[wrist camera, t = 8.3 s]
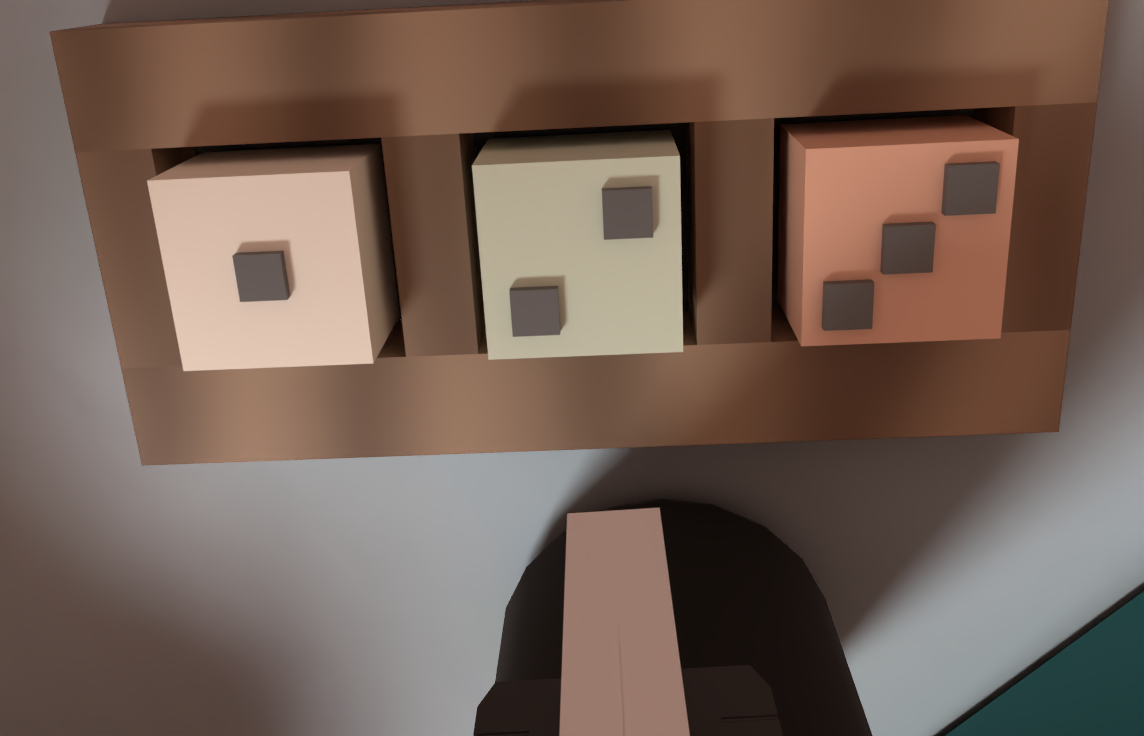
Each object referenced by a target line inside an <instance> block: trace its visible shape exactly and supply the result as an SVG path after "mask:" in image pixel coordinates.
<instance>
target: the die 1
mask: <svg viewBox="0 0 1144 736" xmlns="http://www.w3.org/2000/svg"><path fill="white" fill-rule="evenodd" d="M147 183H148V189H149V194H150V199H151V204H152V210H153V215H154V220H155V225H156V230H157V236H158V241H159V246H160V251H161V256H162V262H163V267H164V272H165V277H166V283H167V288H168V293H169V298H170V303H171V309H172V314H173V319H174V324H175V329H176V335H177V340H178V345H179V350H180V356H181V361H182V366H183V371H201V370H225V369H250V368H275V367H300V366H325V365H349V364H373V363H374V361H375V360H376V358H377V356H378V354H379V352H380V351H381V349H382V347H383V345H384V343H385V342H386V340H387V338H388V336H389V334H390V332H391V331H392V329H393V327H394V325H395V323H396V322H397V320H398V318H399V316H400V311H399V303H398V294H397V285H396V276H395V267H394V259H393V250H392V241H391V232H390V223H389V215H388V206H387V197H386V188H385V180H384V171H383V162H382V153H381V144H363V145H343V146H322V147H302V148H281V149H261V150H240V151H220V152H202V153H200V154H198V155H196V156H194V157H193V158H191V159H189V160H187V161H185V162H183V163H181V164H179V165H177V166H175V167H173V168H171V169H169V170H167V171H165V172H163V173H161V174H159V175H157V176H155V177H153V178H151V179H149V180H147Z"/></svg>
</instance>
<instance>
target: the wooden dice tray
mask: <svg viewBox="0 0 1144 736" xmlns="http://www.w3.org/2000/svg"><path fill="white" fill-rule="evenodd" d="M1108 4H1109V0H537V1H519V2H500V3H482V4H463V5H445V6H426V7H408V8H389V9H371V10H352V11H334V12H315V13H297V14H278V15H260V16H241V17H223V18H204V19H186V20H167V21H149V22H130V23H112V24H98V25H91V26H85V27H78V28H71V29H65V30H58V31H51V32H50V36H51V41H52V45H53V50H54V55H55V59H56V64H57V69H58V74H59V78H60V83H61V88H62V92H63V97H64V102H65V106H66V111H67V116H68V120H69V125H70V130H71V135H72V139H73V144H74V149H75V153H76V158H77V163H78V167H79V172H80V177H81V181H82V186H83V191H84V195H85V200H86V205H87V210H88V214H89V219H90V224H91V228H92V233H93V238H94V242H95V247H96V252H97V256H98V261H99V266H100V270H101V275H102V280H103V285H104V289H105V294H106V299H107V303H108V308H109V313H110V317H111V322H112V327H113V331H114V336H115V341H116V346H117V350H118V355H119V360H120V364H121V369H122V374H123V378H124V383H125V388H126V392H127V397H128V402H129V406H130V411H131V416H132V421H133V425H134V430H135V435H136V439H137V444H138V449H139V453H140V458H141V463H142V465H166V464H194V463H221V462H248V461H275V460H303V459H330V458H357V457H384V456H412V455H439V454H466V453H493V452H521V451H548V450H575V449H602V448H630V447H657V446H684V445H711V444H739V443H766V442H793V441H820V440H848V439H875V438H902V437H929V436H957V435H984V434H1011V433H1038V432H1059V424H1060V415H1061V407H1062V398H1063V390H1064V381H1065V372H1066V364H1067V355H1068V347H1069V338H1070V330H1071V321H1072V312H1073V304H1074V295H1075V287H1076V278H1077V270H1078V261H1079V252H1080V244H1081V235H1082V227H1083V218H1084V210H1085V201H1086V192H1087V184H1088V175H1089V167H1090V158H1091V150H1092V141H1093V132H1094V124H1095V115H1096V107H1097V98H1098V90H1099V81H1100V72H1101V64H1102V55H1103V47H1104V38H1105V30H1106V21H1107V12H1108ZM970 108H976V111H975V119H976V120H978V121H980V122H983V123H985V124H987V125H989V126H991V127H994V128H996V129H998V130H1000V131H1002V132H1005V133H1007V134H1009V135H1011V136H1013V137H1016V138H1018V139H1019V144H1018V155H1017V166H1016V177H1015V188H1014V198H1013V209H1012V220H1011V231H1010V241H1009V252H1008V263H1007V274H1006V284H1005V295H1004V306H1003V317H1002V328H1001V338H998V339H973V340H948V341H923V342H899V343H874V344H849V345H824V346H801V345H800V343H799V341H798V339H797V337H796V335H795V333H794V331H793V329H792V327H791V325H790V323H789V321H788V319H787V317H786V315H785V313H784V311H783V309H782V307H774V308H771V306H772V232H773V158H774V118H787V117H807V116H828V115H848V114H868V113H889V112H909V111H930V110H950V109H970ZM685 122H686V145H687V213H688V281H689V311H683V352H669V353H645V354H620V355H595V356H570V357H545V358H520V359H496V360H488V349H487V337H486V325H485V314H484V302H483V290H482V278H481V266H480V255H479V243H478V231H477V219H476V208H475V196H474V184H473V172H472V165H473V163H474V161H475V149H474V137H473V133H481V132H502V131H522V130H542V129H563V128H583V127H603V126H624V125H644V124H665V123H685ZM379 137H381V140H382V149H383V158H384V166H385V175H386V184H387V193H388V202H389V211H390V219H391V228H392V237H393V246H394V255H395V264H396V272H397V281H398V290H399V299H400V308H401V316H402V323H395V325H394V327H393V329H392V331H391V332H390V334H389V336H388V338H387V340H386V342H385V343H384V345H383V347H382V349H381V351H380V352H379V354H378V356H377V358H376V360H375V361H374V363H373V364H349V365H325V366H300V367H275V368H250V369H225V370H201V371H183V366H182V361H181V356H180V350H179V345H178V340H177V335H176V329H175V324H174V319H173V314H172V309H171V303H170V298H169V293H168V288H167V283H166V277H165V272H164V267H163V262H162V256H161V251H160V246H159V241H158V236H157V230H156V225H155V220H154V215H153V210H152V204H151V199H150V194H149V189H148V183H147V180H149V179H151V178H153V177H155V176H157V175H159V174H161V173H163V172H165V171H167V170H169V169H171V168H173V167H175V166H177V165H179V164H181V163H183V162H185V161H187V160H189V159H191V158H193V157H194V156H196V152H195V147H196V146H216V145H237V144H257V143H277V142H298V141H318V140H338V139H359V138H379Z"/></svg>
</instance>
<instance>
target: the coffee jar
mask: <svg viewBox="0 0 1144 736" xmlns="http://www.w3.org/2000/svg"><path fill="white" fill-rule="evenodd" d="M646 508H660V515H661V522H662V530H663V537H664V545H665V552H666V560H667V567H668V575H669V582H670V590H671V597H672V605H673V613H674V620H675V628H676V635H677V643H678V650H679V658H680V665H681V669H686V668H704V667H721V666H738V665H751V667H752V668H753V669H754V670H755V671H756V672H757V673H758V674H759V675H760V676H761V677H762V678H763V679H764V681H765V682H766V683H767V684H768V685H769V686H770V687H771V690H772V694H773V697H774V701H775V705H776V709H777V713H778V720H779V721H780V725H781V729H782V733H783V736H872V733H871V730H870V728H869V725H868V722H867V719H866V716H865V713H864V710H863V707H862V704H861V701H860V699H859V696H858V693H857V690H856V687H855V684H854V681H853V678H852V675H851V672H850V670H849V667H848V664H847V661H846V658H845V655H844V652H843V649H842V646H841V643H840V641H839V638H838V635H837V632H836V629H835V626H834V623H833V620H832V617H831V614H830V612H829V609H828V606H827V603H826V600H825V598H824V596H823V594H822V593H821V591H820V589H819V587H818V586H817V584H816V582H815V580H814V579H813V577H812V575H811V573H810V572H809V570H808V568H807V566H806V564H805V563H804V561H803V559H802V558H800V557H799V556H798V555H797V554H796V553H795V552H793V551H792V550H791V549H790V548H789V547H788V546H786V545H785V544H784V543H783V542H782V541H781V540H780V539H778V538H777V537H776V536H775V535H774V534H773V533H771V532H770V531H769V530H768V529H767V528H766V527H764V526H762V525H760V524H758V523H756V522H753V521H751V520H749V519H746V518H744V517H741V516H739V515H737V514H734V513H732V512H730V511H727V510H725V509H722V508H720V507H718V506H715V505H711V504H702V503H693V502H684V501H675V500H666V499H660V500H654V501H648V502H642V503H636V504H631V505H625V506H619V507H613V508H610V509H608V510H606V511H614V510H630V509H646ZM566 534H567V530H565V531H564V532H563V533H562V534H561V535H560V536H559V537H558V538H556V539H555V540H554V541H553V542H552V543H551V544H550V545H549V546H548V547H547V548H546V549H545V550H544V551H543V552H542V553H541V554H540V555H539V556H538V557H537V558H536V559H535V560H534V561H532V562H531V563H530V564H529V565H528V566H527V567H526V569H525V571H524V573H523V575H522V577H521V579H520V581H519V583H518V585H517V587H516V589H515V591H514V593H513V595H512V597H511V599H510V601H509V603H508V605H507V607H506V611H505V618H504V625H503V632H502V639H501V646H500V653H499V660H498V667H497V673H496V680H495V682H504V681H521V680H539V679H556V678H561V676H562V648H563V620H564V591H565V563H566Z"/></svg>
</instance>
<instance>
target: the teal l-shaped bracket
mask: <svg viewBox="0 0 1144 736" xmlns="http://www.w3.org/2000/svg"><path fill="white" fill-rule="evenodd" d="M945 736H1144V591H1143V592H1142V593H1141V594H1139V595H1138V596H1136V597H1135V598H1134V599H1132V600H1131V601H1130V602H1128V603H1127V604H1125V605H1124V606H1123V607H1121V608H1120V609H1119V610H1117V611H1116V612H1114V613H1113V614H1112V615H1110V616H1109V617H1108V618H1106V619H1105V620H1103V621H1102V622H1101V623H1099V624H1098V625H1097V626H1095V627H1094V628H1092V629H1091V630H1090V631H1088V632H1087V633H1086V634H1084V635H1083V636H1081V637H1080V638H1079V639H1077V640H1076V641H1075V642H1073V643H1072V644H1070V645H1069V646H1068V647H1066V648H1065V649H1064V650H1062V651H1061V652H1059V653H1058V654H1057V655H1055V656H1054V657H1053V658H1051V659H1050V660H1048V661H1047V662H1046V663H1044V664H1043V665H1042V666H1040V667H1039V668H1037V669H1036V670H1035V671H1033V672H1032V673H1031V674H1029V675H1028V676H1026V677H1025V678H1024V679H1022V680H1021V681H1020V682H1018V683H1017V684H1015V685H1014V686H1013V687H1011V688H1010V689H1009V690H1007V691H1006V692H1004V693H1003V694H1002V695H1000V696H999V697H998V698H996V699H995V700H993V701H992V702H991V703H989V704H988V705H987V706H985V707H984V708H982V709H981V710H980V711H978V712H977V713H976V714H974V715H973V716H971V717H970V718H969V719H967V720H966V721H965V722H963V723H962V724H960V725H959V726H958V727H956V728H955V729H954V730H952V731H951V732H949V733H948V734H947V735H945Z"/></svg>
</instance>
